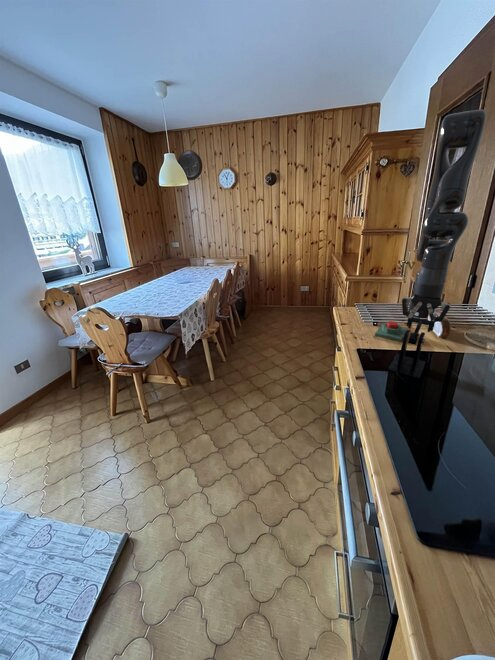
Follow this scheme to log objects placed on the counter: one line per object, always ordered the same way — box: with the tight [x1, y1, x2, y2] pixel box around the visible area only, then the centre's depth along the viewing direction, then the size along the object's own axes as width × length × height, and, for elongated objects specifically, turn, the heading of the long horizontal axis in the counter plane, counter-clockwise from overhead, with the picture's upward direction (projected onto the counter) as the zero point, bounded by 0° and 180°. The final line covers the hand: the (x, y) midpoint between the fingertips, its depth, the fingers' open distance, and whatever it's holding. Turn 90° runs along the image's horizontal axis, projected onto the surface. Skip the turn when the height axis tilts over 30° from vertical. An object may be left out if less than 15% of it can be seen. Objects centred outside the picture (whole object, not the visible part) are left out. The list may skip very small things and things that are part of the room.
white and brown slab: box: [427, 308, 451, 339], centre depth 111 cm, size 15×3×8 cm, turn 168°
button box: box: [374, 322, 408, 343], centre depth 112 cm, size 11×9×4 cm
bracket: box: [387, 328, 427, 379], centre depth 90 cm, size 11×9×13 cm
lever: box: [408, 318, 430, 346], centre depth 91 cm, size 13×5×2 cm, turn 142°
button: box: [386, 320, 399, 329], centre depth 111 cm, size 4×4×2 cm
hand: (419, 329), depth 96 cm, fingers closed on lever, 5 cm apart
